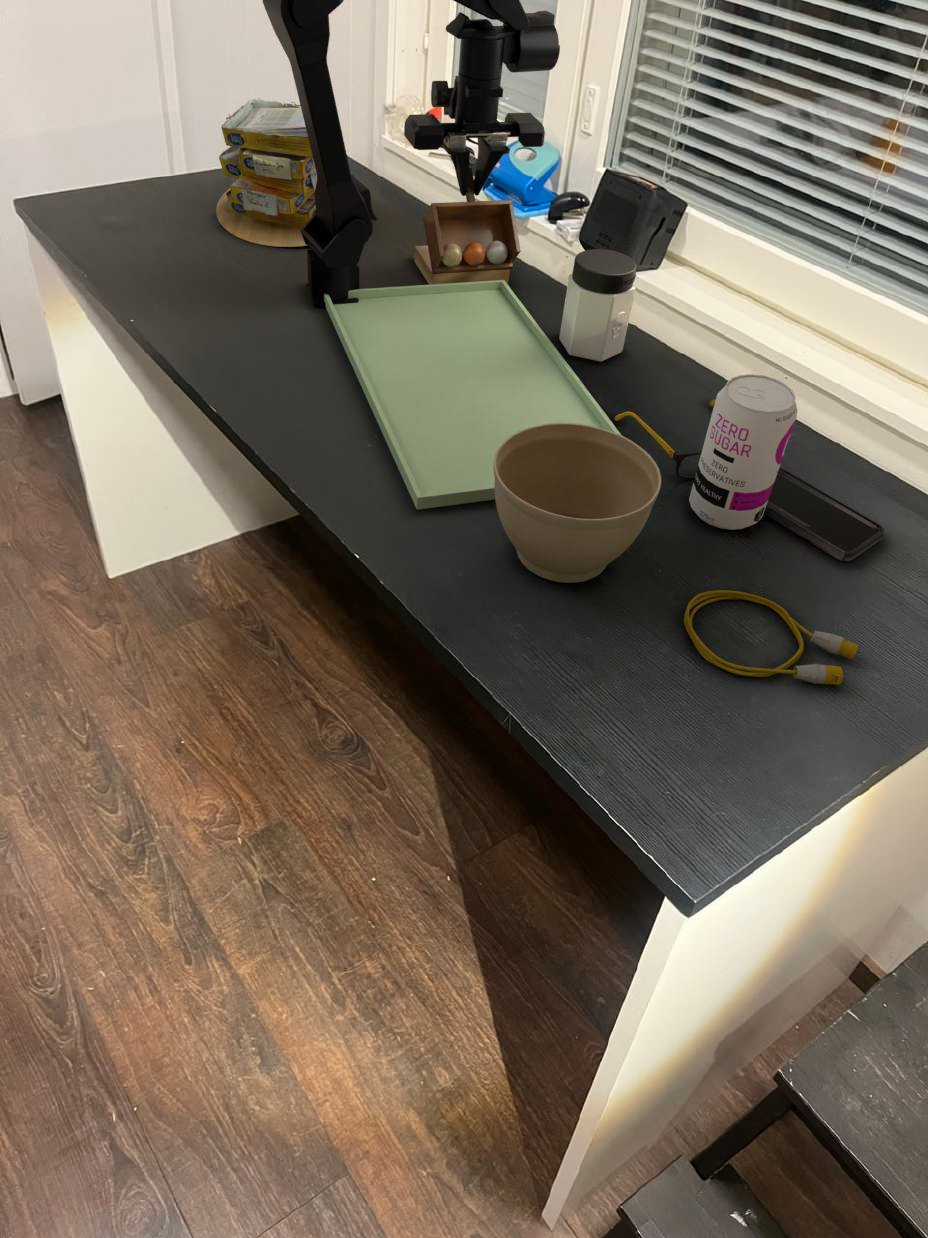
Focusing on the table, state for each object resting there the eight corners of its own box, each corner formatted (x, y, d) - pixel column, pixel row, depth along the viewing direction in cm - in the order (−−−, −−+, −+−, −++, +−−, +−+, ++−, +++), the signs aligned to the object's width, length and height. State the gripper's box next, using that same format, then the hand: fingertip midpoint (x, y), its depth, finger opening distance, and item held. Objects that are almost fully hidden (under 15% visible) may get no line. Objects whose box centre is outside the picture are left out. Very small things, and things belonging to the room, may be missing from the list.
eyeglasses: (672, 487, 109) (681, 457, 106) (613, 420, 118) (619, 391, 115) (775, 467, 113) (785, 439, 111) (710, 405, 123) (718, 377, 120)
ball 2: (458, 249, 140) (463, 270, 139) (464, 238, 137) (468, 259, 136) (479, 248, 140) (483, 268, 140) (485, 237, 137) (489, 257, 137)
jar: (591, 368, 127) (608, 281, 119) (547, 343, 131) (560, 258, 123) (633, 348, 132) (651, 264, 124) (589, 325, 136) (604, 242, 128)
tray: (416, 509, 102) (417, 497, 101) (323, 301, 135) (322, 291, 134) (644, 480, 109) (647, 468, 108) (502, 289, 142) (503, 279, 141)
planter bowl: (598, 497, 106) (617, 413, 99) (665, 593, 95) (691, 506, 88) (462, 517, 102) (471, 430, 94) (516, 619, 91) (530, 530, 83)
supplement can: (765, 497, 108) (804, 380, 98) (757, 540, 103) (798, 422, 92) (694, 480, 110) (725, 364, 99) (682, 522, 104) (714, 404, 94)
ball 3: (481, 248, 141) (485, 268, 140) (487, 236, 137) (491, 257, 137) (501, 247, 141) (505, 267, 141) (508, 235, 138) (512, 256, 138)
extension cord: (794, 726, 84) (802, 712, 82) (657, 626, 92) (662, 611, 90) (866, 665, 90) (874, 650, 89) (733, 576, 98) (738, 562, 97)
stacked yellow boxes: (308, 262, 144) (304, 145, 132) (184, 218, 152) (170, 104, 140) (399, 215, 160) (402, 106, 148) (282, 177, 168) (277, 72, 156)
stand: (432, 289, 140) (433, 273, 139) (414, 260, 147) (414, 245, 146) (508, 284, 144) (509, 269, 142) (487, 256, 150) (488, 241, 149)
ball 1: (436, 250, 139) (440, 271, 138) (441, 239, 136) (445, 260, 135) (457, 249, 140) (461, 270, 139) (462, 238, 136) (466, 259, 136)
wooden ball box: (432, 274, 139) (440, 260, 134) (417, 185, 139) (425, 168, 134) (510, 269, 142) (521, 255, 137) (496, 182, 142) (506, 165, 137)
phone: (776, 464, 112) (888, 529, 104) (773, 472, 112) (884, 537, 105) (735, 487, 108) (849, 556, 100) (732, 495, 108) (845, 564, 101)
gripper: (524, 55, 133) (510, 171, 144) (395, 55, 128) (391, 175, 139) (553, 80, 126) (537, 200, 137) (418, 81, 121) (412, 205, 132)
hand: (469, 194), depth 136 cm, fingers closed on wooden ball box, 2 cm apart
